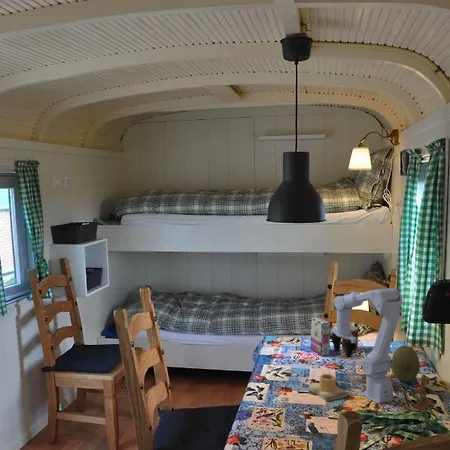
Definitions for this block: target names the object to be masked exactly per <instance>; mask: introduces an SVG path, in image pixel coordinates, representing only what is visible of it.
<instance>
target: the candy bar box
mask: <svg viewBox="0 0 450 450" xmlns="http://www.w3.org/2000/svg"><path fill="white" fill-rule="evenodd" d="M310 328H311V330H310V331H311V332H310V334H311V335H310V350H312V351H313V352H315V353H316V354H318V355H319V356H320V357H328V356H330V355H331V354H330V351H331V338H330V335H331V322H330V321H328V320H326V319H324V318H322V317H320V316H317V317H316V316H315V317H314V316H313V317H311V327H310Z"/></svg>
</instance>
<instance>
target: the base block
mask: <svg viewBox="0 0 450 450" xmlns="http://www.w3.org/2000/svg"><path fill="white" fill-rule="evenodd" d="M307 387H308V391H311V392H312V393H313V394H314V395H317V396H318V397H319V398H321V399H322V400H324V401H326V402H329V401H333V400H339V399H342V398H345V397H348V392H347V391H345V390H344V389H342V388H340V387H338V386H337V385H336V389H335V391H333V392H324V391H321V389H320V382H317V383H314V384H310V385H307Z"/></svg>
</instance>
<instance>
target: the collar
mask: <svg viewBox="0 0 450 450" xmlns="http://www.w3.org/2000/svg"><path fill="white" fill-rule="evenodd" d="M326 378H329V379H326ZM336 381H337V379H336V376H335V375H333V374H331V373H323V374H321V375H319V383H320V389H321V391H324V392H333V391H335V389H336V386H337V385H336Z"/></svg>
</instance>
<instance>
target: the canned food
mask: <svg viewBox="0 0 450 450" xmlns="http://www.w3.org/2000/svg"><path fill="white" fill-rule="evenodd" d="M350 332H351V333H352V335H353V336H354V337H355V338H357V340H356V341H357V344H356V346H355V347H354V349H353V352H357V350H358V346H359V343H358V341H359V328H358V327H357V326H355V325H350ZM345 341H348V340H346V339H344V338H342V339H341V348H342V351H345V352H346V349H345V345H344V342H345Z"/></svg>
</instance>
